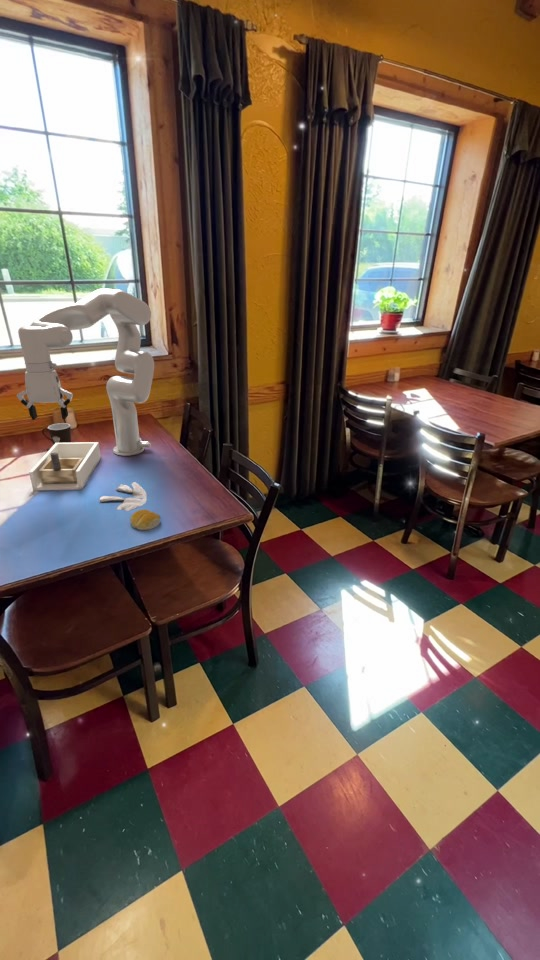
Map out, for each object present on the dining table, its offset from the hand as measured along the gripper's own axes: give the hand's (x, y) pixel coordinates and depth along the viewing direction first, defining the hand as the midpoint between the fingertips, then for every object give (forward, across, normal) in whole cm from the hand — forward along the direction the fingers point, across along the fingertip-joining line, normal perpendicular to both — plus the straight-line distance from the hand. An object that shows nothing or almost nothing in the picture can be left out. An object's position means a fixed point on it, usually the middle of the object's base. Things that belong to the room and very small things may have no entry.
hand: (49, 418), depth 149 cm
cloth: (+25, -23, +11) cm, 36 cm away
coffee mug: (+25, +11, -34) cm, 44 cm away
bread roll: (+25, -33, +30) cm, 51 cm away
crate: (+23, 0, -2) cm, 23 cm away
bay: (+24, 0, -8) cm, 26 cm away
